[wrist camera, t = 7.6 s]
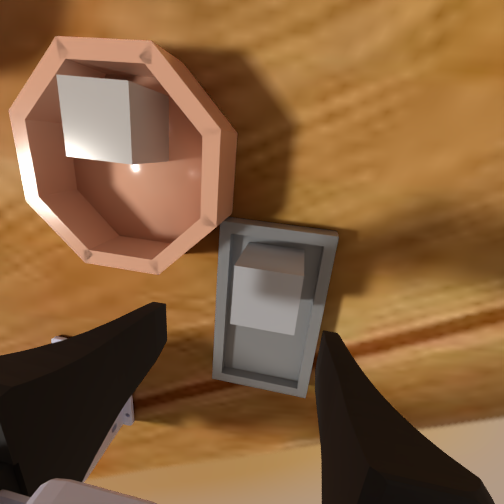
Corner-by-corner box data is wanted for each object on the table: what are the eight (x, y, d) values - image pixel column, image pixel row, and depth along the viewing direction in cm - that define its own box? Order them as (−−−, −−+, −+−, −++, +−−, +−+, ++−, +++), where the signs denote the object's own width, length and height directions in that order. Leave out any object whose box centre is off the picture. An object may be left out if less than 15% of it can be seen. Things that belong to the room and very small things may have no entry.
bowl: (229, 261, 22) (213, 283, 18) (78, 238, 24) (36, 254, 20) (242, 66, 18) (224, 43, 14) (53, 55, 19) (-7, 32, 16)
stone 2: (296, 299, 22) (294, 335, 17) (244, 290, 22) (230, 323, 18) (304, 249, 20) (304, 276, 16) (248, 241, 21) (234, 265, 16)
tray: (305, 385, 25) (305, 398, 24) (216, 367, 26) (212, 378, 25) (336, 230, 20) (338, 236, 19) (225, 216, 21) (220, 220, 20)
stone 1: (168, 161, 20) (132, 164, 16) (115, 154, 20) (66, 156, 16) (168, 96, 18) (128, 80, 14) (111, 90, 19) (56, 74, 15)
